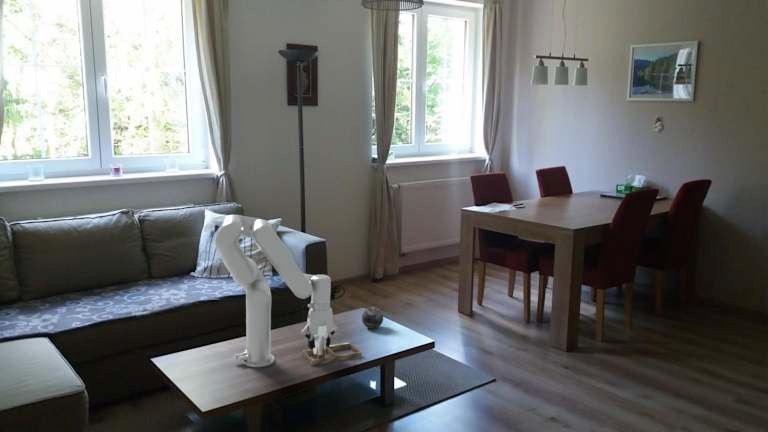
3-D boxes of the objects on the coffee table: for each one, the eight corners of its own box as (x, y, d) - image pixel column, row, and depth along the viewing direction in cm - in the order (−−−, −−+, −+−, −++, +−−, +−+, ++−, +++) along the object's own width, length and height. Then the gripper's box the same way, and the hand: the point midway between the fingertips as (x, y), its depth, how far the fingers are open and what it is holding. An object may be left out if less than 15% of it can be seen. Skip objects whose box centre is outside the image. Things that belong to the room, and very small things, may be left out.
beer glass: (328, 355, 257) (330, 320, 255) (325, 362, 251) (326, 326, 248) (312, 353, 258) (313, 319, 255) (308, 360, 251) (309, 325, 249)
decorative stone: (367, 333, 284) (368, 312, 282) (357, 326, 292) (358, 305, 290) (386, 330, 288) (387, 309, 287) (376, 323, 297) (377, 303, 295)
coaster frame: (311, 365, 247) (311, 360, 247) (301, 355, 257) (301, 349, 256) (361, 356, 257) (361, 351, 257) (350, 347, 267) (350, 342, 266)
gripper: (303, 310, 243) (302, 354, 246) (343, 306, 251) (342, 347, 254) (296, 304, 250) (295, 347, 253) (336, 300, 258) (335, 341, 261)
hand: (319, 347), depth 254 cm, fingers closed on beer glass, 6 cm apart
